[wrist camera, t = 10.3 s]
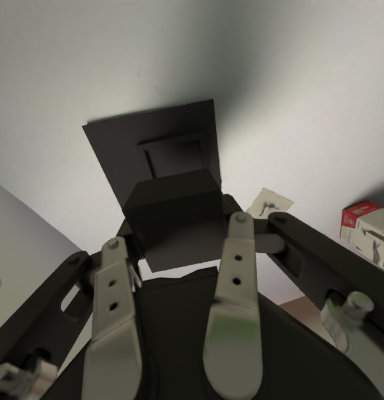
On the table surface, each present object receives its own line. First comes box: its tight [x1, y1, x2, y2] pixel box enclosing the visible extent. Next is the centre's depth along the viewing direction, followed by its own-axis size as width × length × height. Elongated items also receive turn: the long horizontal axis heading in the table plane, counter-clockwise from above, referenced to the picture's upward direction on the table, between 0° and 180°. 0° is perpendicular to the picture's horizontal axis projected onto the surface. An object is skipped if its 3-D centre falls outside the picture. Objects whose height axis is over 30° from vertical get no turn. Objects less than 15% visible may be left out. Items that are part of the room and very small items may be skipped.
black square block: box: [122, 168, 225, 273], centre depth 11 cm, size 6×6×4 cm
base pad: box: [82, 99, 221, 208], centre depth 21 cm, size 16×12×2 cm
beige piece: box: [246, 188, 294, 219], centre depth 28 cm, size 7×12×2 cm, turn 154°
